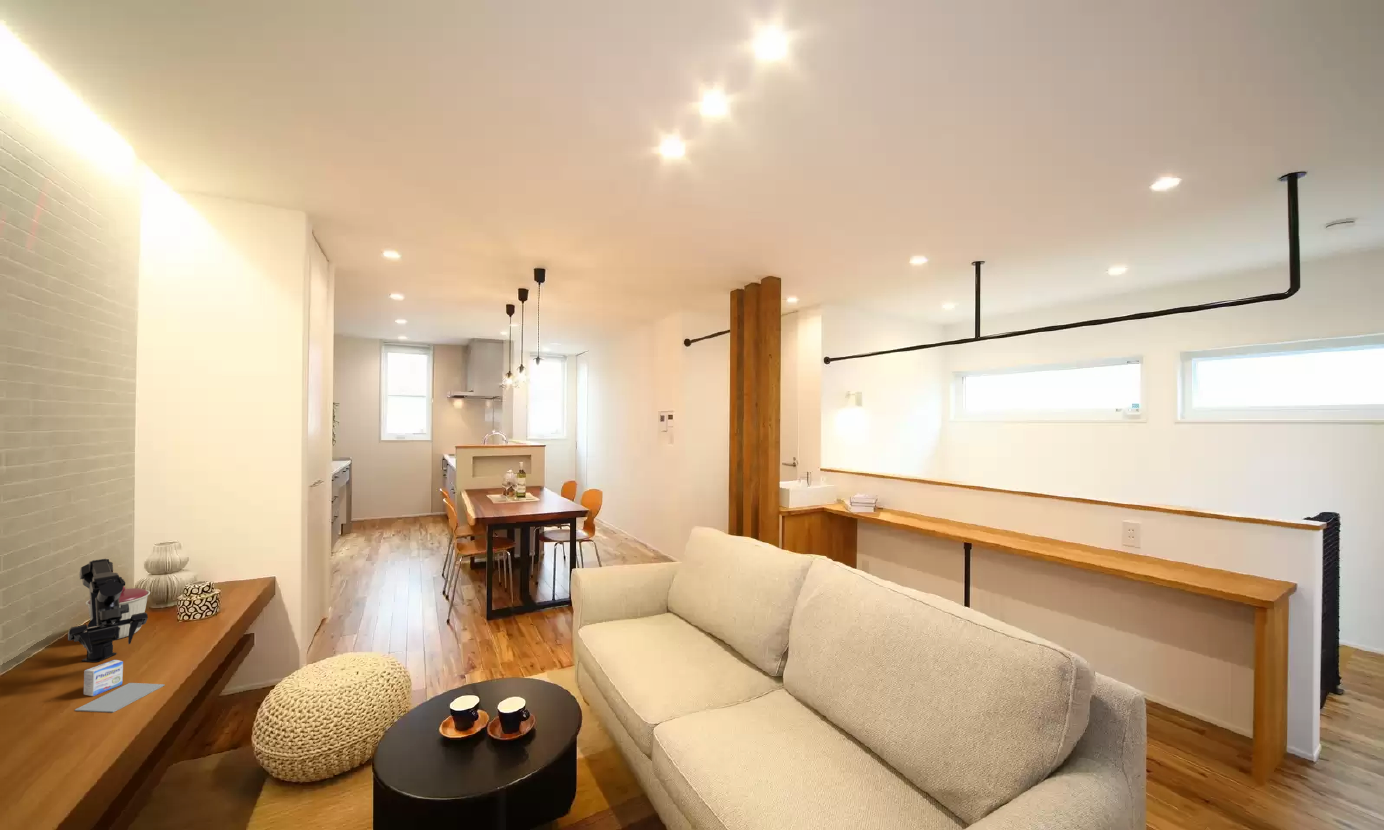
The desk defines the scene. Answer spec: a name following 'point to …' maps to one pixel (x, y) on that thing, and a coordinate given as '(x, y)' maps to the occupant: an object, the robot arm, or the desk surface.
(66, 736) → the desk surface
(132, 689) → the slate mat
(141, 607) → the canister
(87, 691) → the medicine box
